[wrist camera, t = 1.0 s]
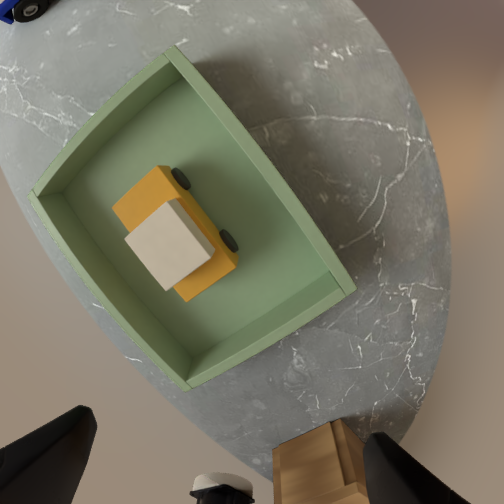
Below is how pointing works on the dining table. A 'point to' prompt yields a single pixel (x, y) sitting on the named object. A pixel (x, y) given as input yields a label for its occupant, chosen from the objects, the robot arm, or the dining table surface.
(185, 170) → the green box
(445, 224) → the dining table surface
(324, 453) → the oak stand
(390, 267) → the dining table surface
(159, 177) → the small car
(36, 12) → the toy car
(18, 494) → the robot arm
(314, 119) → the dining table surface
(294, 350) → the dining table surface
